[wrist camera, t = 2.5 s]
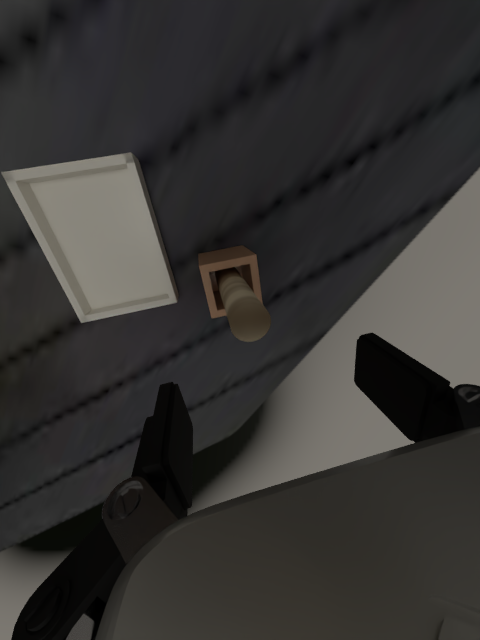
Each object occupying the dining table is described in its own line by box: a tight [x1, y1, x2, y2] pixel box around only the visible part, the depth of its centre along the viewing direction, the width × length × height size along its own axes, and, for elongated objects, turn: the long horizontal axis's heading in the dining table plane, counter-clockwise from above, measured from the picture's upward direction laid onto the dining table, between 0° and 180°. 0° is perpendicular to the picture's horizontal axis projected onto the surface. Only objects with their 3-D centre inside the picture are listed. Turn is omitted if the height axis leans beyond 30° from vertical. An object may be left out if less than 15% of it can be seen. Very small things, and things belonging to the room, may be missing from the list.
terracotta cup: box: [198, 245, 262, 318], centre depth 28 cm, size 6×6×8 cm
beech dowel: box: [215, 267, 271, 342], centre depth 24 cm, size 3×3×16 cm
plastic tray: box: [1, 153, 179, 323], centre depth 26 cm, size 16×12×3 cm
